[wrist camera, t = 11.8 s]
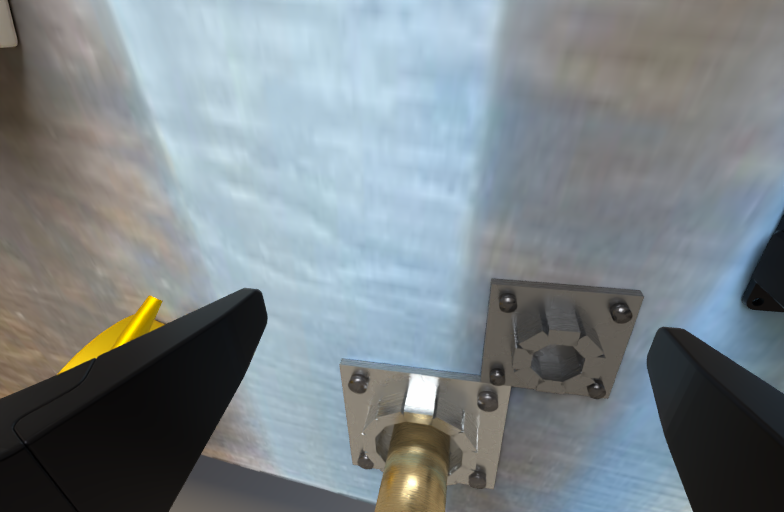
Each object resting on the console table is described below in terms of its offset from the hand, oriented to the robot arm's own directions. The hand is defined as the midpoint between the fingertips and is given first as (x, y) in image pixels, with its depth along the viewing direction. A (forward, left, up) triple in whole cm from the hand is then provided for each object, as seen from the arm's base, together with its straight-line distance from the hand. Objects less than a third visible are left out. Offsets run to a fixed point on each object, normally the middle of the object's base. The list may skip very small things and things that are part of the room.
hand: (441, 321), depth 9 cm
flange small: (-6, +11, -13) cm, 18 cm away
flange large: (+2, +21, -13) cm, 25 cm away
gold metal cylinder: (+2, +21, -12) cm, 24 cm away
